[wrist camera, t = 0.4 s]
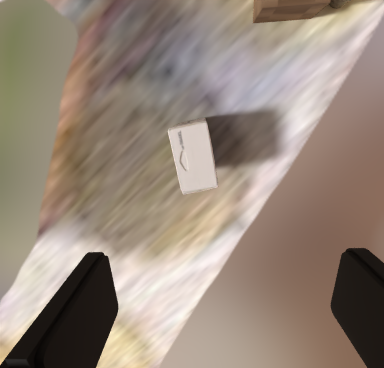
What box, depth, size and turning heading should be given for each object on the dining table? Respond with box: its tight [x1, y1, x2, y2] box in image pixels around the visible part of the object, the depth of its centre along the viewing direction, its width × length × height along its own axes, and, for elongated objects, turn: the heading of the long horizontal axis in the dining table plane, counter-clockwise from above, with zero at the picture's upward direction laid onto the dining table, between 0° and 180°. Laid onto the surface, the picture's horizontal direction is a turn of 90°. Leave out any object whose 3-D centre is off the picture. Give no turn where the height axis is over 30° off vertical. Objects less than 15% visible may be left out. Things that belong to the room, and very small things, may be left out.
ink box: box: [168, 118, 218, 194], centre depth 32 cm, size 9×5×12 cm, turn 12°
